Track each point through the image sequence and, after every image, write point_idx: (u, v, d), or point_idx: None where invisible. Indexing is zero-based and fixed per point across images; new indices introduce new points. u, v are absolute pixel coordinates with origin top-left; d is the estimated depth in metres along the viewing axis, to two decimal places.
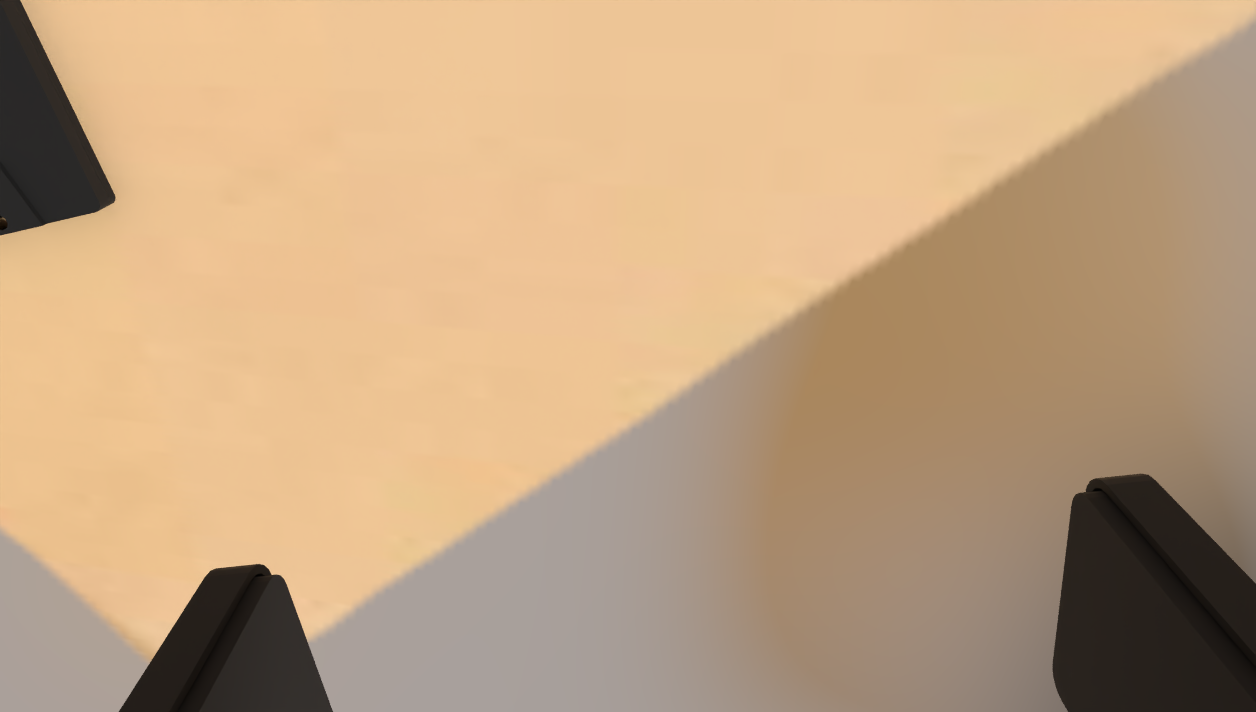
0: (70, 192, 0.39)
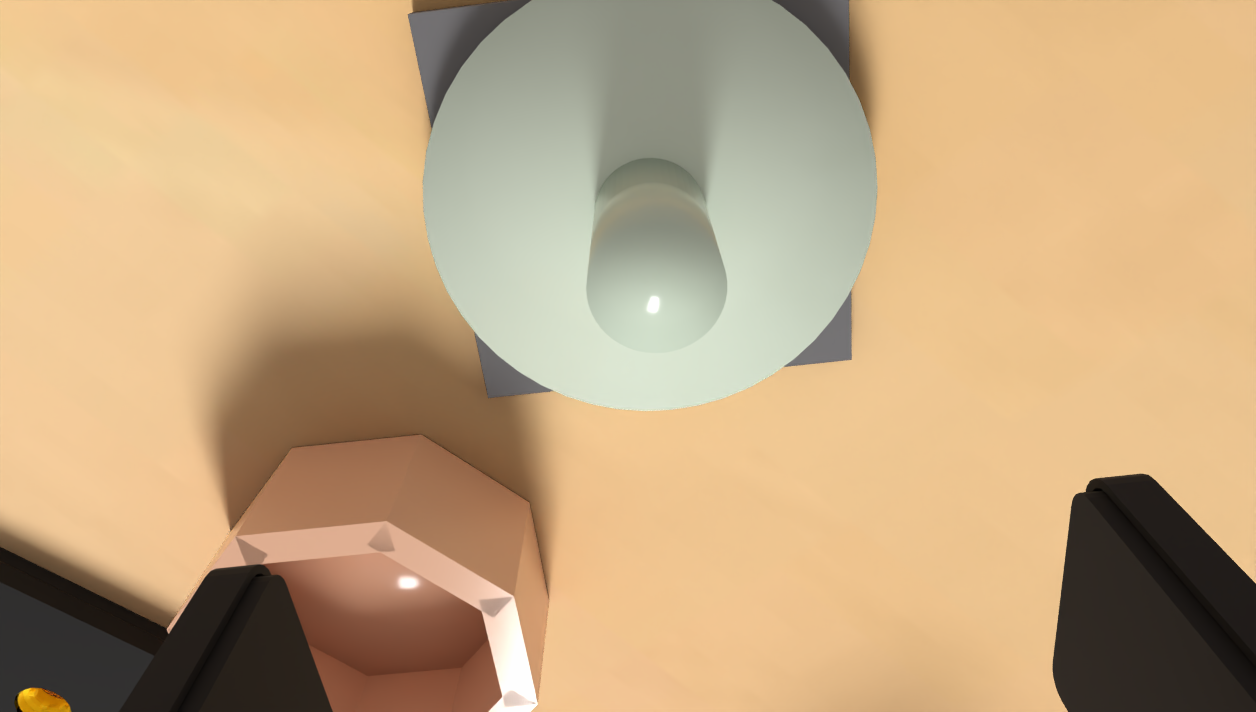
0: None
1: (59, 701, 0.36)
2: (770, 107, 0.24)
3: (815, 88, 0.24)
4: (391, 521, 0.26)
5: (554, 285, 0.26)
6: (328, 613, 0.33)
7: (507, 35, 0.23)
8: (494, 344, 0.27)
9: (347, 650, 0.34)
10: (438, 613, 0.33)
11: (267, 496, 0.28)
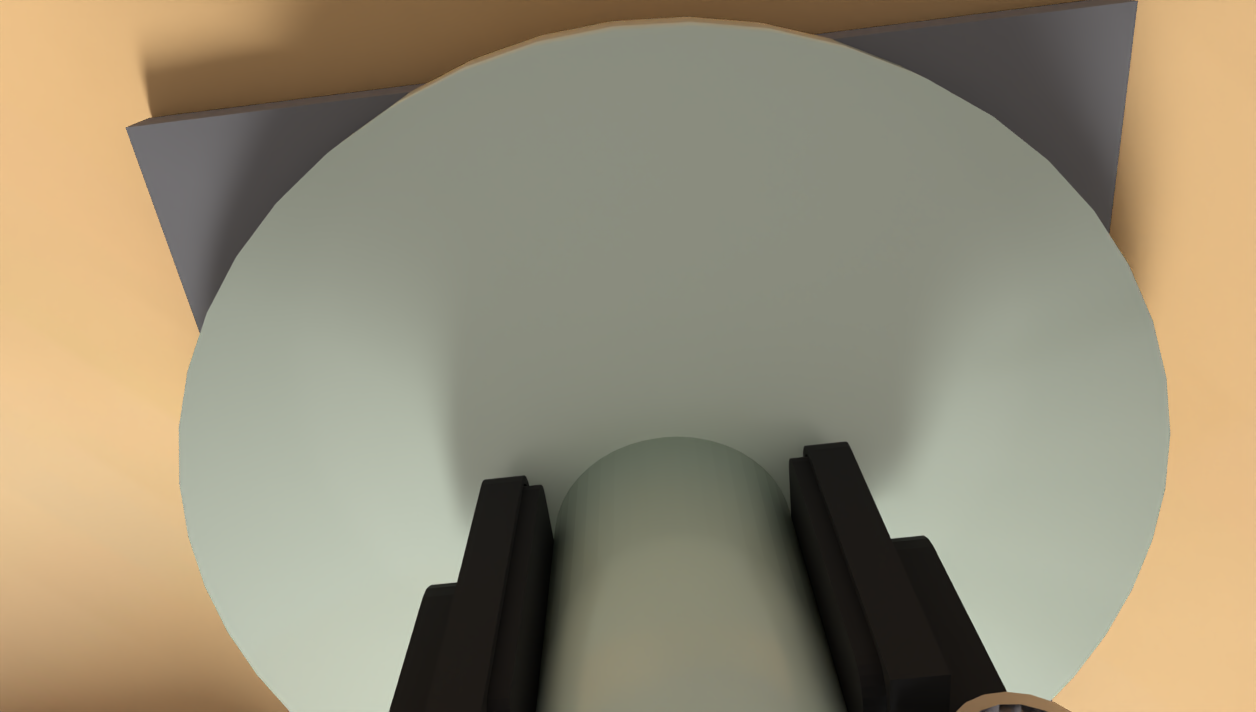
0: None
1: None
2: (947, 336, 0.11)
3: (1054, 297, 0.10)
4: None
5: None
6: None
7: (338, 187, 0.10)
8: None
9: None
10: None
11: None
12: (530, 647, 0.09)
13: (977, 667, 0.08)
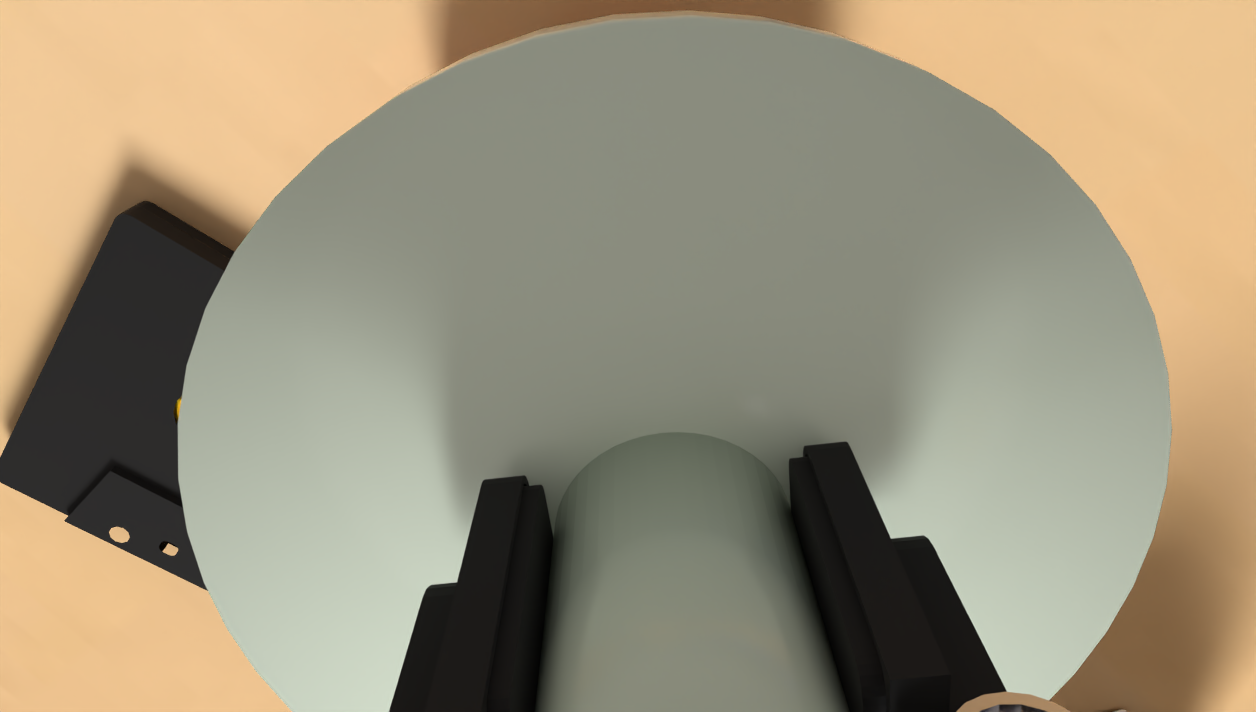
0: None
1: None
2: (948, 331, 0.11)
3: (1055, 292, 0.10)
4: None
5: None
6: None
7: (337, 181, 0.10)
8: None
9: None
10: None
11: None
12: (530, 647, 0.09)
13: (975, 668, 0.08)
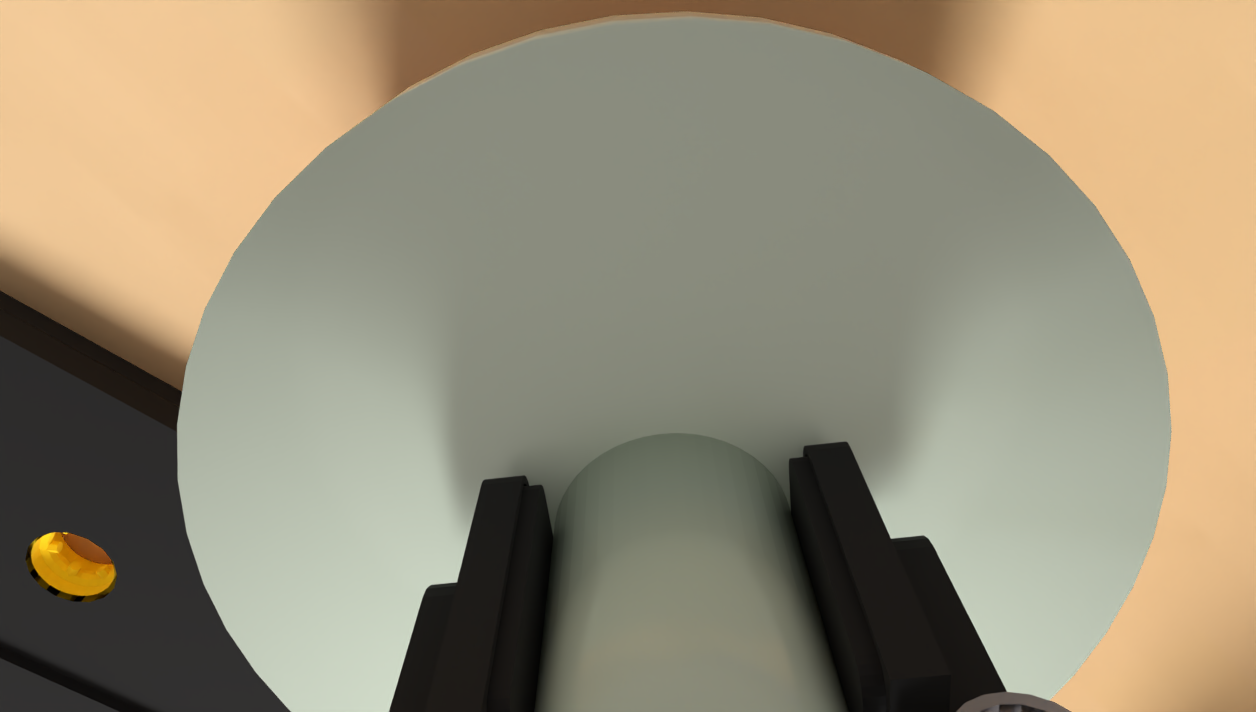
0: None
1: (96, 566, 0.23)
2: (947, 332, 0.11)
3: (1055, 293, 0.10)
4: None
5: None
6: None
7: (336, 182, 0.10)
8: None
9: None
10: None
11: None
12: (530, 647, 0.09)
13: (975, 665, 0.08)
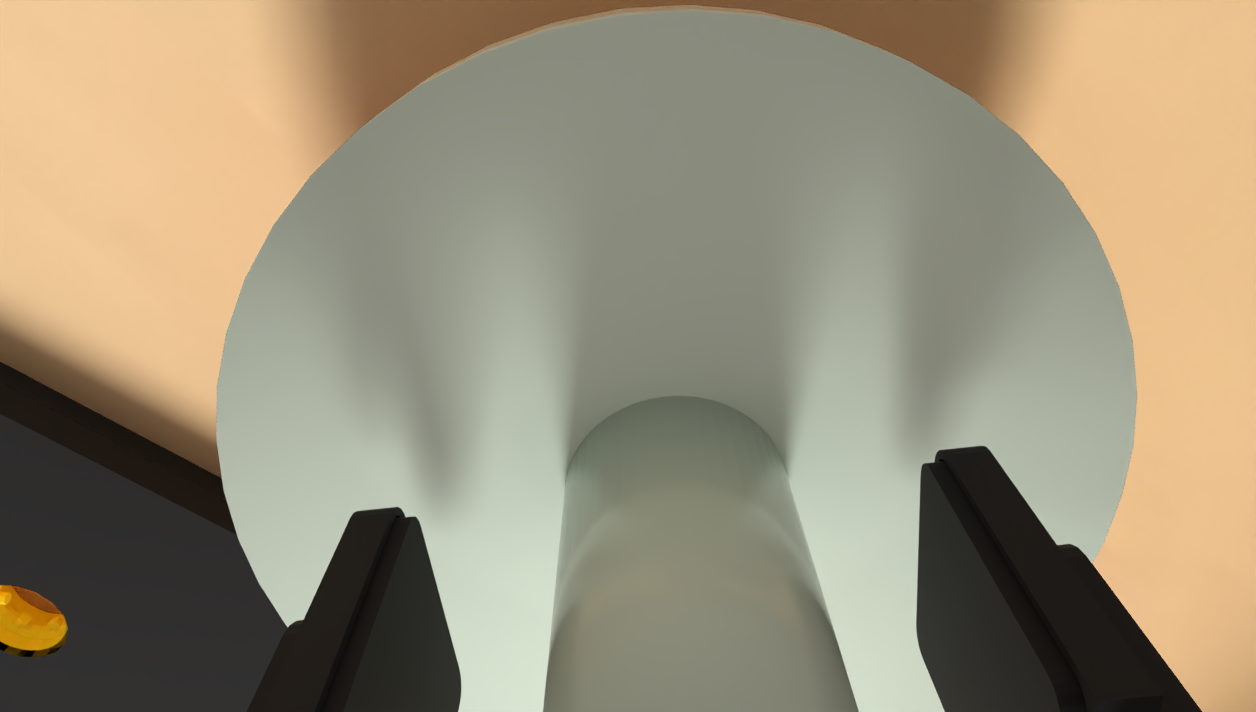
0: None
1: (48, 616, 0.22)
2: (929, 301, 0.12)
3: (1028, 263, 0.11)
4: None
5: (492, 612, 0.14)
6: None
7: (368, 161, 0.11)
8: None
9: None
10: None
11: None
12: (376, 691, 0.09)
13: (1161, 685, 0.08)
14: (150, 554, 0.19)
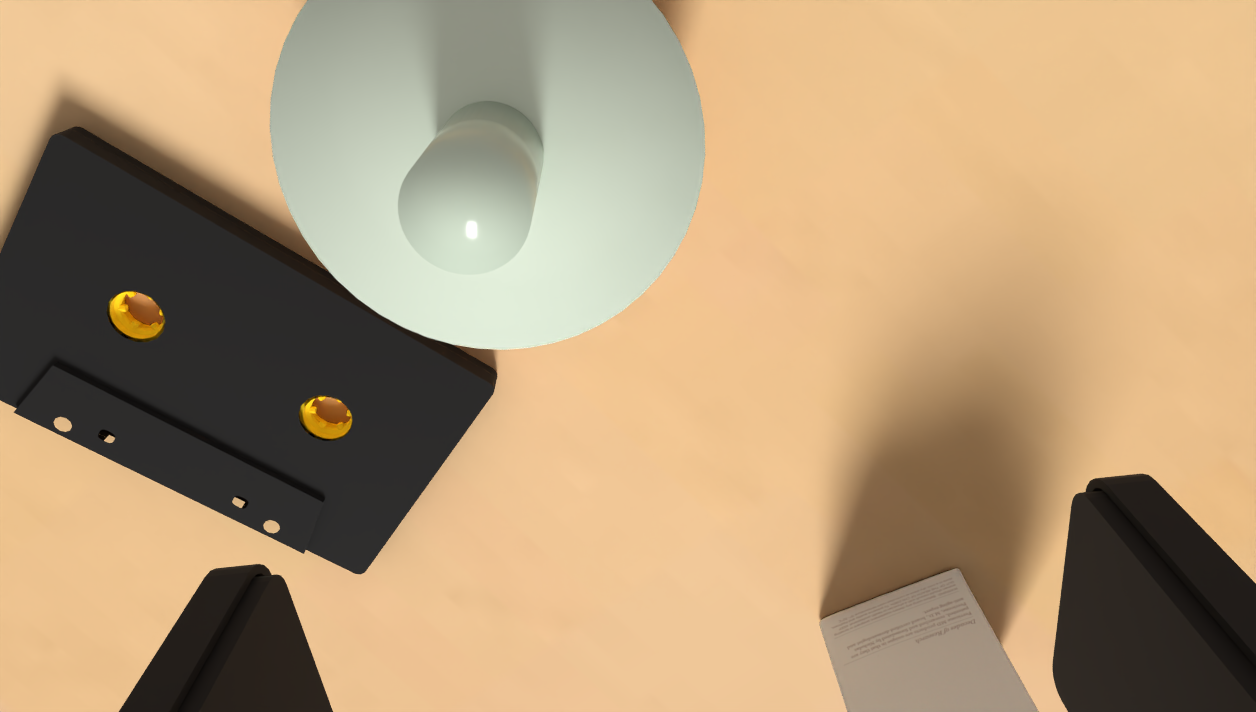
0: (352, 550, 0.39)
1: (148, 326, 0.35)
2: (595, 50, 0.26)
3: (636, 30, 0.25)
4: None
5: None
6: None
7: None
8: (353, 287, 0.28)
9: None
10: None
11: None
12: None
13: None
14: (215, 267, 0.33)
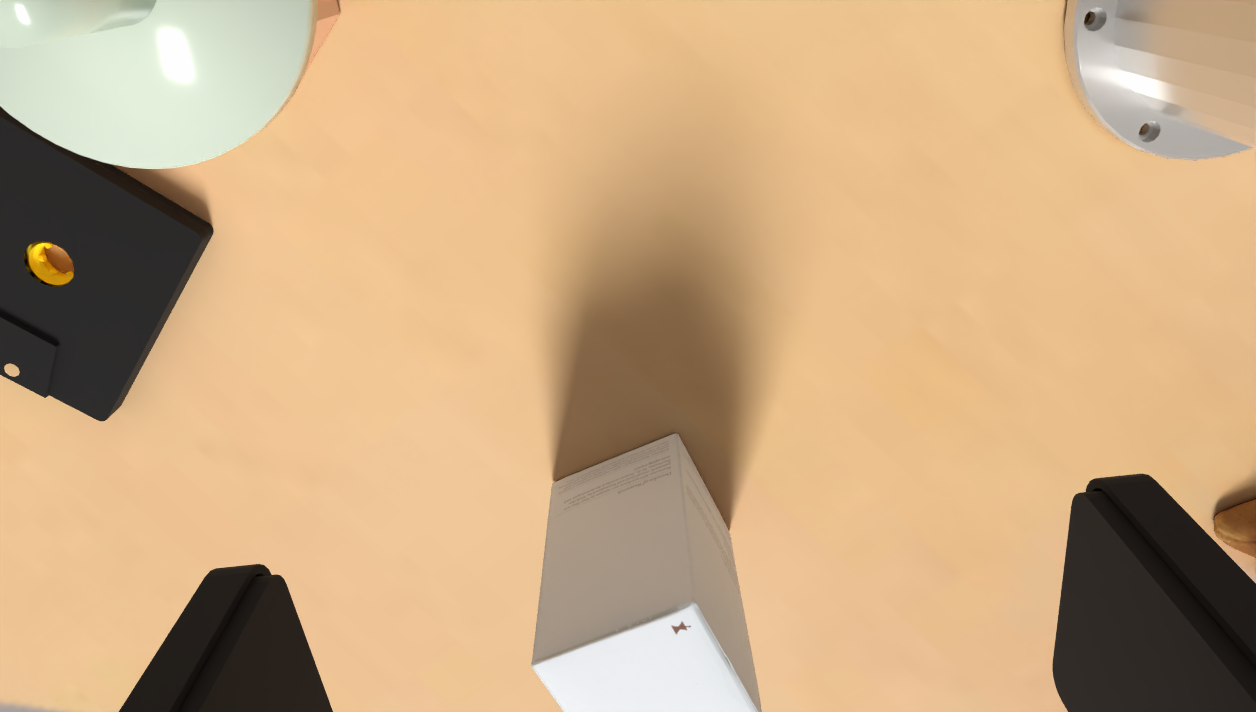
0: (92, 397, 0.42)
1: None
2: None
3: None
4: None
5: (43, 45, 0.31)
6: None
7: None
8: (4, 104, 0.31)
9: None
10: None
11: None
12: None
13: None
14: None
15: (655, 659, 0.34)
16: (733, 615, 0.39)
